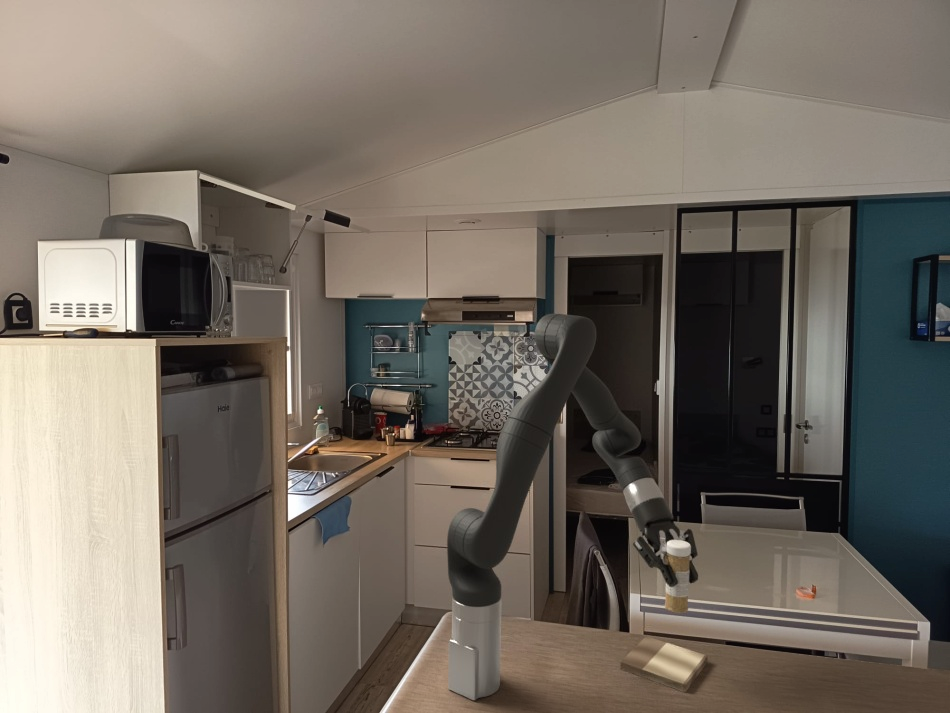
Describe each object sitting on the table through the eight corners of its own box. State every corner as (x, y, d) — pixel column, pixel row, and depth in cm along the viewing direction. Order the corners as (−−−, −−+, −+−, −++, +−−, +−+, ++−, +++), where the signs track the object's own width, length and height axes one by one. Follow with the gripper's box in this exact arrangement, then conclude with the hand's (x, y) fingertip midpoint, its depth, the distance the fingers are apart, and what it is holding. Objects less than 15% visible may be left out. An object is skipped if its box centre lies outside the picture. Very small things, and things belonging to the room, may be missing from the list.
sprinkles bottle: (661, 604, 132) (663, 539, 131) (682, 603, 133) (685, 538, 132) (669, 614, 128) (672, 547, 127) (692, 613, 128) (694, 547, 127)
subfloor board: (685, 692, 123) (685, 684, 123) (620, 669, 131) (620, 661, 131) (707, 663, 133) (707, 655, 133) (646, 642, 141) (646, 635, 141)
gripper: (627, 499, 133) (664, 581, 123) (683, 492, 138) (723, 570, 128) (611, 517, 138) (645, 597, 128) (666, 509, 144) (703, 585, 133)
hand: (684, 583), depth 128 cm, fingers closed on sprinkles bottle, 4 cm apart
